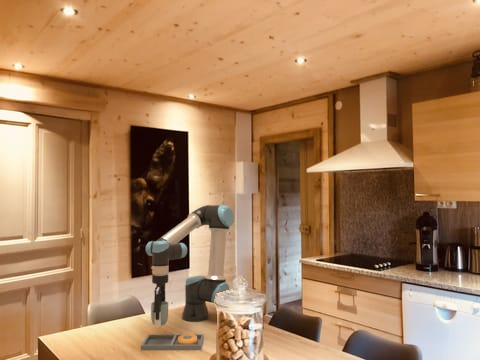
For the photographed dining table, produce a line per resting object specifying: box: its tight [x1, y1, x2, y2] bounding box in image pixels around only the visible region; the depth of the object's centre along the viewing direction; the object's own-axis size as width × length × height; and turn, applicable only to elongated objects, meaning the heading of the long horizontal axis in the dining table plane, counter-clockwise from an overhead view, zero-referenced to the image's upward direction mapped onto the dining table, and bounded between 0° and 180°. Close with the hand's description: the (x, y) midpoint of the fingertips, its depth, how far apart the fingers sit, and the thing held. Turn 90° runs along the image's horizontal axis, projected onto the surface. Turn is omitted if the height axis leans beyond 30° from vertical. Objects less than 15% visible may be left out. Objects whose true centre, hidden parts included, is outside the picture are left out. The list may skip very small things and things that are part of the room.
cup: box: [150, 300, 169, 327], centre depth 182 cm, size 8×8×10 cm
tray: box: [140, 333, 205, 351], centre depth 181 cm, size 27×14×2 cm, turn 90°
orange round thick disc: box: [178, 333, 197, 345], centre depth 181 cm, size 9×9×3 cm
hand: (159, 323), depth 181 cm, fingers closed on cup, 8 cm apart
